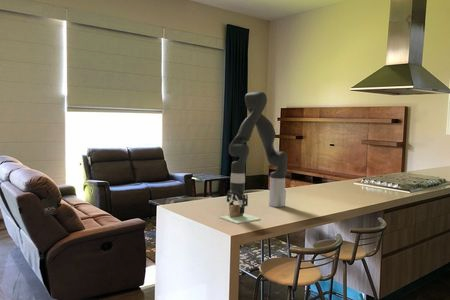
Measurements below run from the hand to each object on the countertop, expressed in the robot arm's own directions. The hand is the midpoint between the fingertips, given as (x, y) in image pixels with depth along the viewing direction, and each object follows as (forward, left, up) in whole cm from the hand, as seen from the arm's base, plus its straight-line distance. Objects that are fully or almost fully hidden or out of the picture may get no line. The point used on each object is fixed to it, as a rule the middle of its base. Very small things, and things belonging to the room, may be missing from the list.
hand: (236, 212), depth 200 cm
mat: (0, +3, -3) cm, 4 cm away
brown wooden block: (0, 0, -2) cm, 2 cm away
